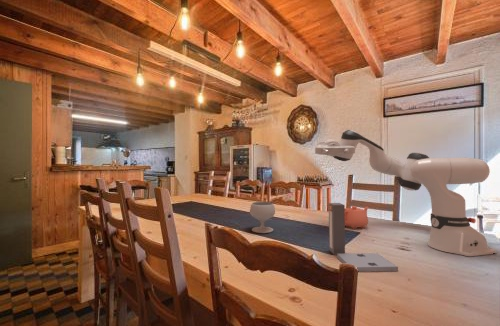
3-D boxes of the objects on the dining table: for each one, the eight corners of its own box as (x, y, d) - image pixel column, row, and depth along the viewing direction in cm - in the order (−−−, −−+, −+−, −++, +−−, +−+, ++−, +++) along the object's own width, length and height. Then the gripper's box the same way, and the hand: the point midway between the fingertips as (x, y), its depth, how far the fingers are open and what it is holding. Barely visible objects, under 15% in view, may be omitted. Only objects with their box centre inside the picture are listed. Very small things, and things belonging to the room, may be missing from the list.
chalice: (267, 226, 135) (267, 200, 136) (280, 232, 123) (279, 204, 123) (246, 228, 130) (245, 202, 130) (256, 235, 117) (256, 206, 117)
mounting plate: (377, 256, 89) (377, 252, 89) (398, 271, 77) (398, 266, 77) (337, 257, 89) (337, 253, 89) (351, 271, 77) (351, 267, 77)
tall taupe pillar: (339, 250, 96) (339, 202, 97) (344, 254, 92) (344, 205, 92) (328, 250, 96) (328, 203, 97) (333, 255, 91) (332, 205, 92)
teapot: (349, 231, 124) (348, 209, 124) (334, 225, 135) (334, 205, 135) (377, 227, 130) (377, 206, 130) (361, 223, 141) (360, 203, 142)
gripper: (351, 153, 128) (358, 157, 115) (314, 153, 132) (315, 158, 119) (352, 142, 127) (358, 145, 113) (314, 143, 131) (316, 145, 118)
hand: (336, 151), depth 116 cm, fingers open, 8 cm apart
